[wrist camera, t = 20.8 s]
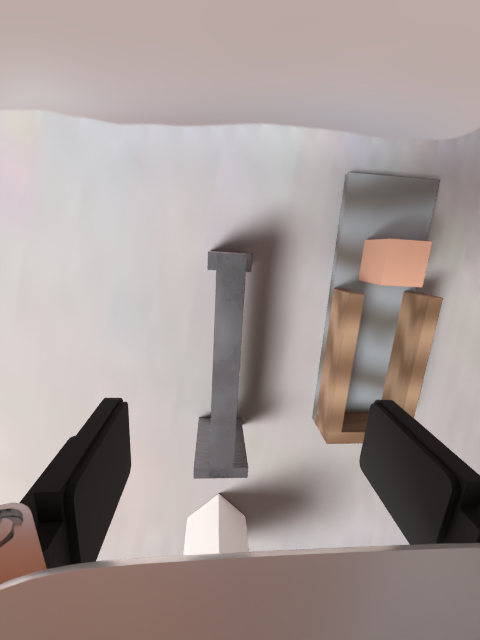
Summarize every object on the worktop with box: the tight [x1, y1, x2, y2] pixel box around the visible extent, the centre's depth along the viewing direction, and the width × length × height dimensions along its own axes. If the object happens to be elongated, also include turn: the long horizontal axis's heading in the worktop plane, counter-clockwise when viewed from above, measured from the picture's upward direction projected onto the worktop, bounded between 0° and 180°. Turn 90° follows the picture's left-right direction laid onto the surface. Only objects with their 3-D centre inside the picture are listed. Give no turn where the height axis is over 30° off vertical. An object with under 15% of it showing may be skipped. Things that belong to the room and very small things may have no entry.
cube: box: [358, 239, 432, 287], centre depth 29 cm, size 4×4×4 cm
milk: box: [184, 494, 249, 555], centre depth 29 cm, size 6×6×22 cm
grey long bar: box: [194, 251, 252, 479], centre depth 29 cm, size 22×5×8 cm, turn 177°
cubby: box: [312, 172, 443, 444], centre depth 31 cm, size 30×10×5 cm, turn 177°
